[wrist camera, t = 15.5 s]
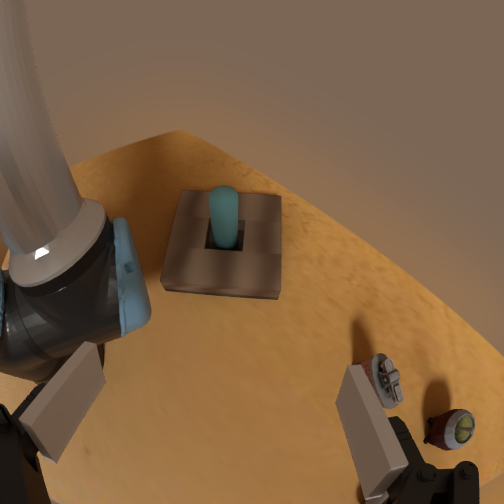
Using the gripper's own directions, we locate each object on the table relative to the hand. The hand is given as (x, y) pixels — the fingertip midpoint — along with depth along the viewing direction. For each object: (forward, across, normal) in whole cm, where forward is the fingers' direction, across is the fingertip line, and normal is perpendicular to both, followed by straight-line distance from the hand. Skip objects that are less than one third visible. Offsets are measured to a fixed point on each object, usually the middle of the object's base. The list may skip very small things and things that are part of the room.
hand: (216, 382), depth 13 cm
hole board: (+37, -3, -2) cm, 37 cm away
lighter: (+20, +20, -19) cm, 34 cm away
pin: (+36, -3, -2) cm, 36 cm away
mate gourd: (+13, +34, -26) cm, 45 cm away
